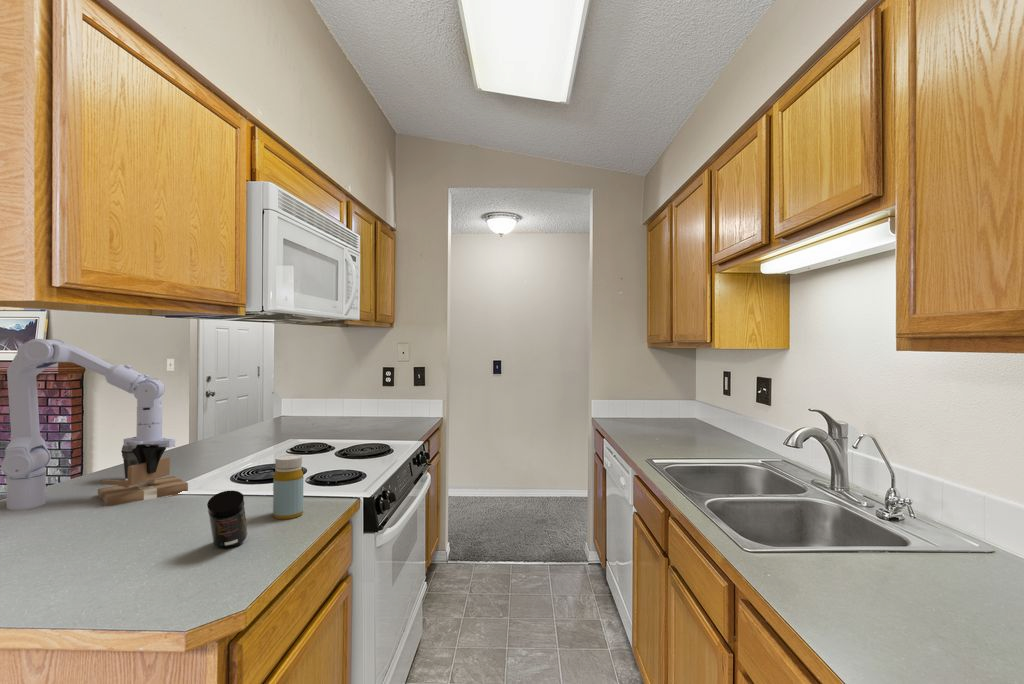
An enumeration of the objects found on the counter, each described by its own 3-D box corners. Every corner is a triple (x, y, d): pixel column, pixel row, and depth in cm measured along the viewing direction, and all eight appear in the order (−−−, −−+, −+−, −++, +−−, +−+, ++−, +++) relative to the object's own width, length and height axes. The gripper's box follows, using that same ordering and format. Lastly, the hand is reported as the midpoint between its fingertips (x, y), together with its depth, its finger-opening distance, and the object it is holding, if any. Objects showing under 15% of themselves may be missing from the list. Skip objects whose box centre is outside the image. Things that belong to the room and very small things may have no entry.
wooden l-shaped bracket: (101, 484, 134) (101, 465, 134) (141, 473, 146) (141, 456, 146) (131, 485, 133) (131, 466, 133) (169, 474, 145) (169, 457, 145)
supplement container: (243, 523, 115) (239, 486, 111) (251, 542, 110) (247, 504, 106) (210, 535, 111) (204, 497, 107) (216, 555, 106) (210, 516, 102)
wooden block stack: (97, 503, 139) (97, 483, 139) (173, 489, 153) (173, 470, 153) (110, 514, 130) (110, 492, 130) (189, 498, 143) (189, 478, 144)
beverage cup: (116, 488, 153) (117, 422, 153) (144, 483, 159) (145, 419, 159) (126, 492, 149) (126, 424, 149) (154, 487, 155) (155, 421, 155)
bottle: (293, 509, 134) (293, 453, 134) (308, 515, 130) (309, 456, 130) (267, 517, 128) (268, 457, 128) (282, 522, 124) (283, 461, 124)
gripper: (113, 424, 136) (112, 475, 136) (160, 426, 134) (159, 477, 133) (136, 420, 143) (136, 468, 143) (181, 422, 141) (181, 471, 140)
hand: (149, 472), depth 139 cm, fingers closed on wooden l-shaped bracket
